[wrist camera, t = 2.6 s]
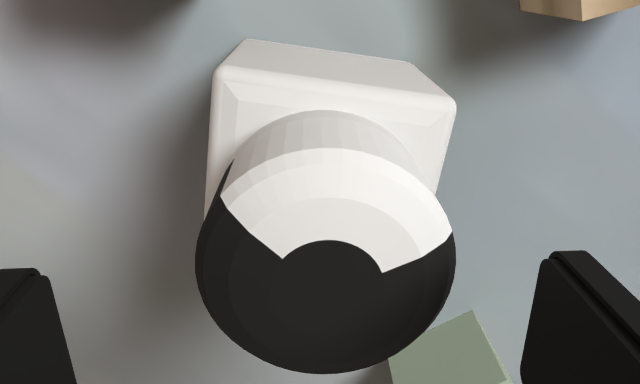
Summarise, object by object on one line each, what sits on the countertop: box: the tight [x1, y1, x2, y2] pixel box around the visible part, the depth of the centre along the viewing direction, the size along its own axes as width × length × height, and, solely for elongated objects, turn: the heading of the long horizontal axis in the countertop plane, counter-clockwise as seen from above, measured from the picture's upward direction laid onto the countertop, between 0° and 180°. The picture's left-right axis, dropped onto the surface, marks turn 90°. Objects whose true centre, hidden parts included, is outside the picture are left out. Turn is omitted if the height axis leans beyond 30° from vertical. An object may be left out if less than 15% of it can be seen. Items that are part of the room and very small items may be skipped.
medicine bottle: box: [195, 39, 456, 374], centre depth 17 cm, size 7×7×12 cm
